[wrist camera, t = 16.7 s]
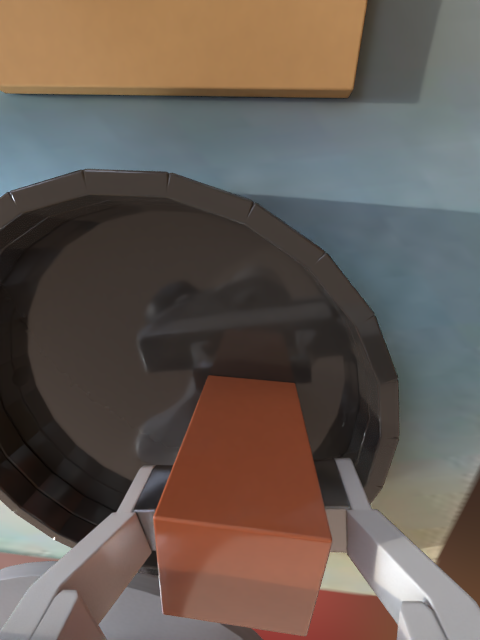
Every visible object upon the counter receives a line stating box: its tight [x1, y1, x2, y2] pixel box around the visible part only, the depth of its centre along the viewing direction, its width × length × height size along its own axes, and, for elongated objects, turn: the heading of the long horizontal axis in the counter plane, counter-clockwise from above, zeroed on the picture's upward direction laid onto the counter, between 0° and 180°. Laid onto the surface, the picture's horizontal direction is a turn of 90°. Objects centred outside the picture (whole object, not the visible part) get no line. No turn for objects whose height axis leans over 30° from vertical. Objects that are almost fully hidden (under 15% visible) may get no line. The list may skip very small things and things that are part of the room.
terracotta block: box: [153, 375, 333, 636], centre depth 9 cm, size 4×4×6 cm
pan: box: [0, 169, 399, 576], centre depth 11 cm, size 19×19×2 cm
